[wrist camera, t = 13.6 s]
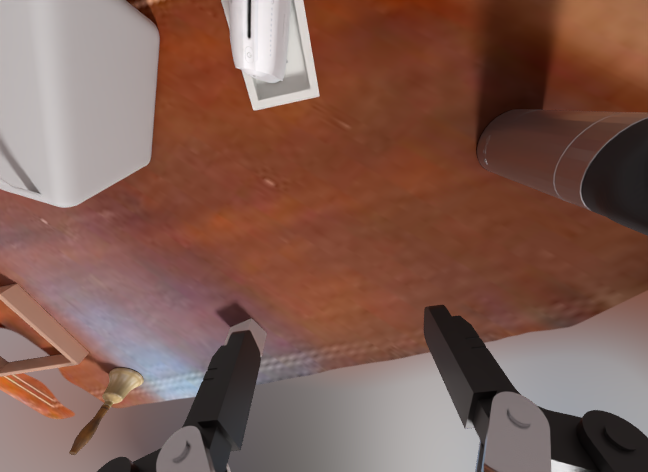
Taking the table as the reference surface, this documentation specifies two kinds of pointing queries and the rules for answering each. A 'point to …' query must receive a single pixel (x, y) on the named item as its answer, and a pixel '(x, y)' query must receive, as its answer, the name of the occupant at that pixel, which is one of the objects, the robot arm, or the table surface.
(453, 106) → the table surface
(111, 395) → the hand bell
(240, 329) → the light grey cube
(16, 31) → the radio
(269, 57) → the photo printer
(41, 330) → the brown square frame
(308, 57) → the dock
